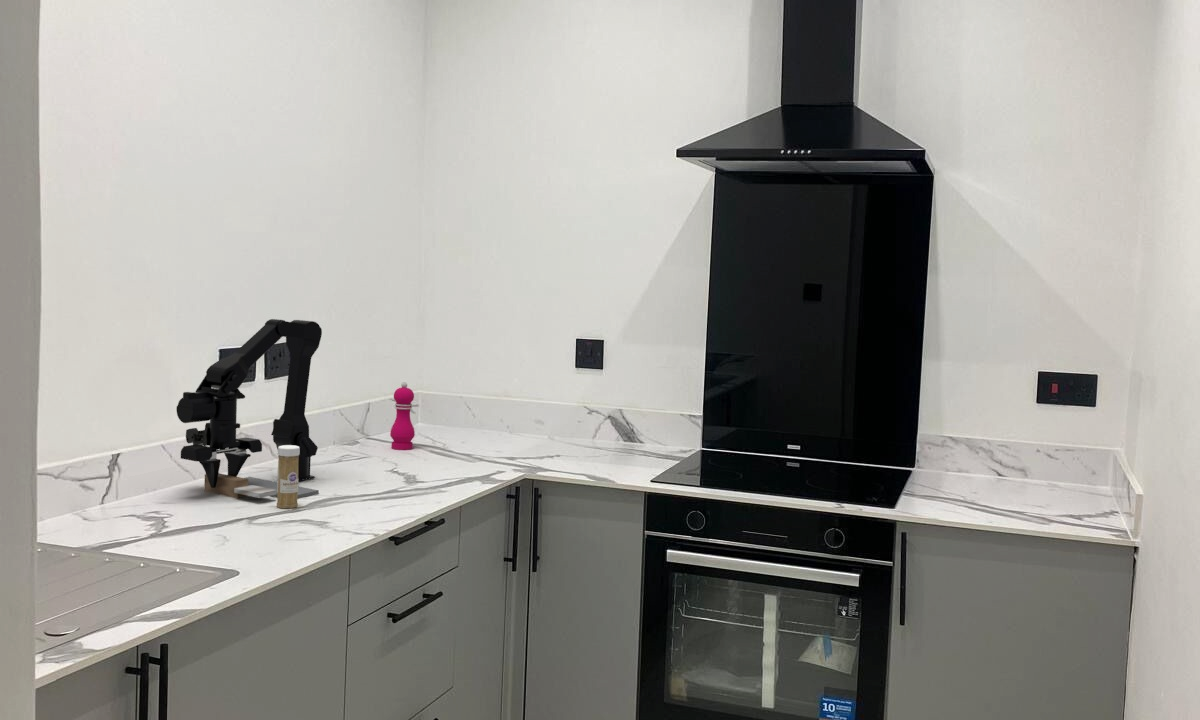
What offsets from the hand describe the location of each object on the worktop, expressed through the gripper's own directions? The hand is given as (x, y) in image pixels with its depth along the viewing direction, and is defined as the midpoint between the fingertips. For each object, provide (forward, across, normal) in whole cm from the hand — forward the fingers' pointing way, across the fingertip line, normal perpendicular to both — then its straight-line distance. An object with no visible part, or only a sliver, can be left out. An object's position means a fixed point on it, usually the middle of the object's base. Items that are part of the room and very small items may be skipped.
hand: (221, 485), depth 228 cm
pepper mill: (+2, -74, -9) cm, 75 cm away
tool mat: (+2, -9, +6) cm, 11 cm away
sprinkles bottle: (+2, 0, +21) cm, 21 cm away
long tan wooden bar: (+2, 0, +6) cm, 6 cm away
